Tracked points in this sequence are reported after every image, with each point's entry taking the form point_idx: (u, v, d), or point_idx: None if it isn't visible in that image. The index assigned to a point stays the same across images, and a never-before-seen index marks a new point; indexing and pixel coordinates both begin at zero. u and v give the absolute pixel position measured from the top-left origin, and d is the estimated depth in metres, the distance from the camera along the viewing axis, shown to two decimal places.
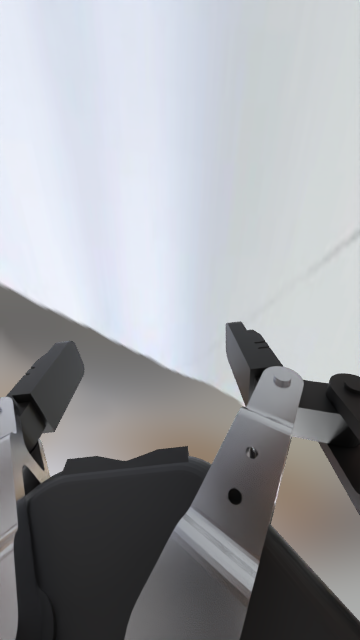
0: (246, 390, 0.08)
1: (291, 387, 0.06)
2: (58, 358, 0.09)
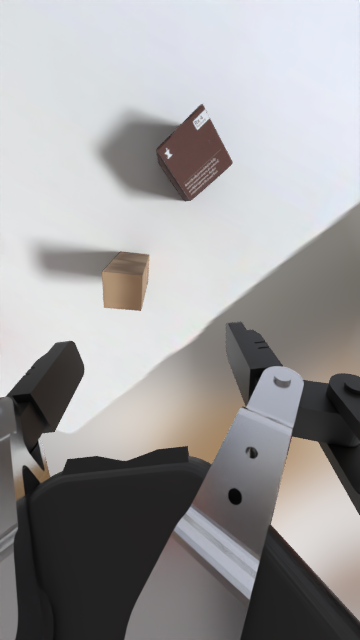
0: (246, 390, 0.08)
1: (291, 387, 0.06)
2: (58, 358, 0.09)
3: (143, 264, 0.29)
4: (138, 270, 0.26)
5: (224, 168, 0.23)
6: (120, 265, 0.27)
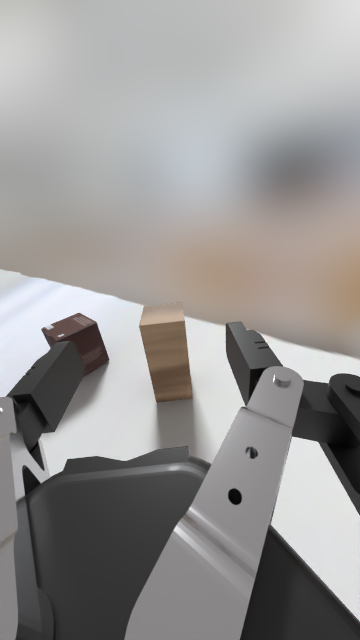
0: (246, 390, 0.08)
1: (291, 387, 0.06)
2: (58, 358, 0.09)
3: None
4: None
5: (81, 314, 0.34)
6: None
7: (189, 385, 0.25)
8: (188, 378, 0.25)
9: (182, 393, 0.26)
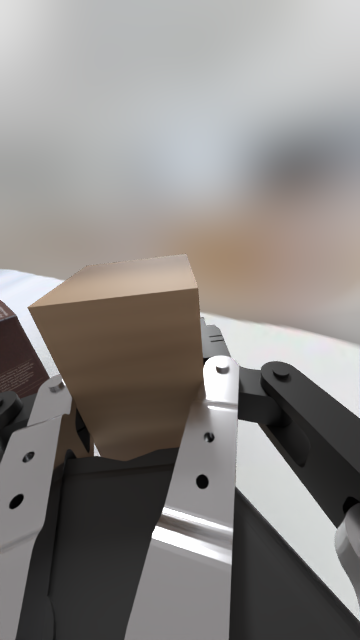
0: None
1: (227, 373, 0.07)
2: None
3: None
4: None
5: (0, 302, 0.19)
6: None
7: None
8: None
9: None
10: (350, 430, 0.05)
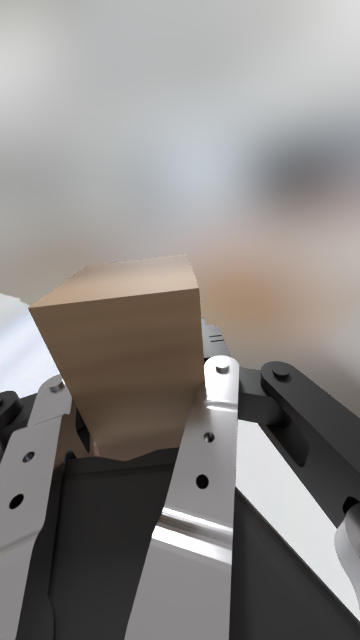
0: None
1: (226, 373, 0.07)
2: None
3: None
4: None
5: None
6: None
7: None
8: None
9: None
10: (350, 430, 0.05)
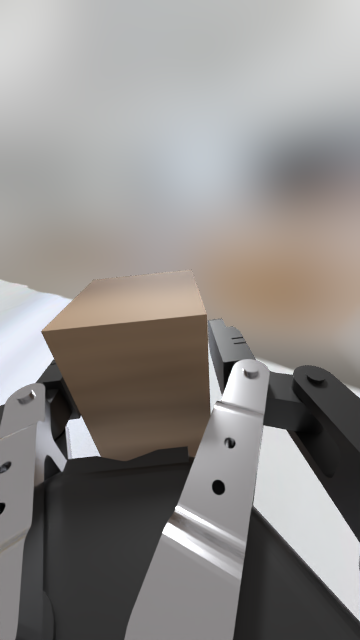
0: (222, 382, 0.09)
1: (257, 378, 0.07)
2: None
3: None
4: None
5: None
6: None
7: None
8: None
9: None
10: None
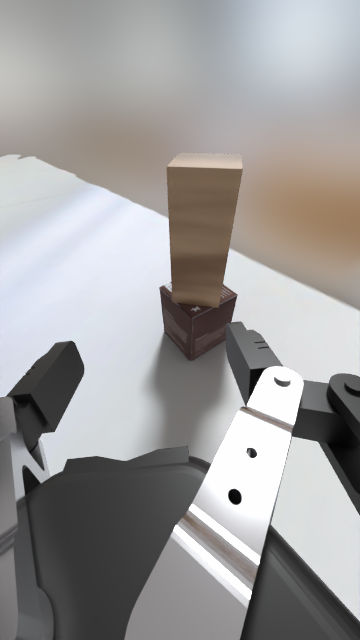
0: (246, 390, 0.08)
1: (291, 387, 0.06)
2: (58, 358, 0.09)
3: None
4: None
5: None
6: None
7: (219, 288, 0.19)
8: (220, 277, 0.18)
9: (207, 298, 0.20)
10: None
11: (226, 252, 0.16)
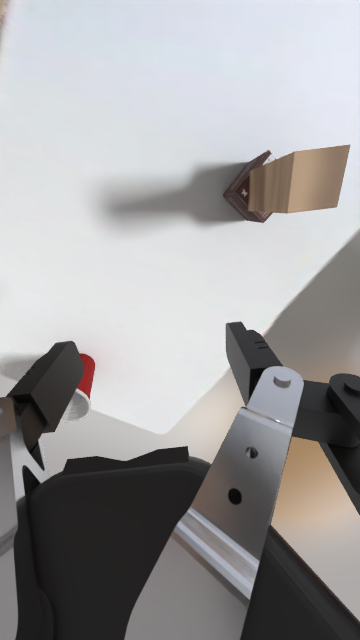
0: (246, 390, 0.08)
1: (291, 387, 0.06)
2: (58, 358, 0.09)
3: None
4: None
5: None
6: None
7: (253, 209, 0.27)
8: (257, 209, 0.26)
9: (250, 200, 0.28)
10: None
11: (264, 210, 0.24)
